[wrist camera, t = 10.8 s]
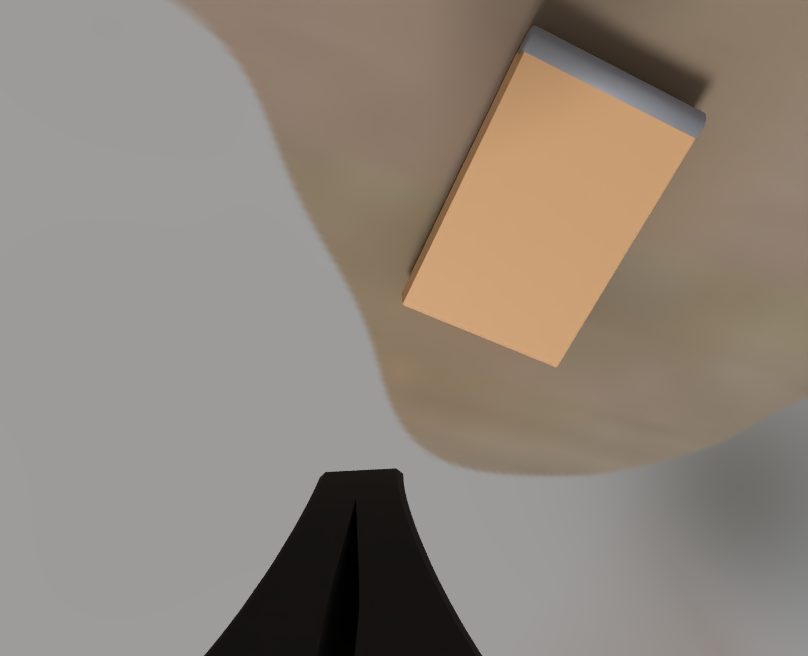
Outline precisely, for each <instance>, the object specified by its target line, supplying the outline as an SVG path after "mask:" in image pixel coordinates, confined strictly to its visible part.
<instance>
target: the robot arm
mask: <svg viewBox="0 0 808 656" xmlns="http://www.w3.org/2000/svg"><path fill="white" fill-rule="evenodd" d="M204 656H482V655H481V653H480V652H479V650H478V649H477V647H476V646H475V644H474V642H473V641H472V639H471V637H470V636H469V634H468V632H467V631H466V629H465V627H464V626H463V624H462V623H461V621H460V619H459V617H458V615H457V614H456V612H455V610H454V608H453V606H452V605H451V603H450V601H449V599H448V597H447V595H446V593H445V591H444V589H443V587H442V585H441V584H440V582H439V580H438V577H437V576H436V573H435V571H434V569H433V567H432V565H431V563H430V560H429V558H428V556H427V553H426V551H425V549H424V547H423V544H422V542H421V539H420V537H419V534H418V532H417V529H416V527H415V524H414V521H413V518H412V515H411V512H410V509H409V506H408V502H407V498H406V494H405V489H404V481H403V473H401V472H400V471H399V470H397V469H377V470H359V471H339V472H325V473H324V474H323V475H322V476H321V477H320V479H319V481H318V483H317V485H316V487H315V490H314V492H313V494H312V496H311V498H310V500H309V502H308V504H307V506H306V508H305V509H304V511H303V513H302V515H301V517H300V518H299V520H298V522H297V524H296V526H295V527H294V529H293V531H292V532H291V534H290V536H289V537H288V539H287V541H286V542H285V544H284V546H283V547H282V549H281V551H280V552H279V554H278V555H277V557H276V559H275V560H274V562H273V563H272V565H271V567H270V568H269V570H268V571H267V573H266V574H265V576H264V577H263V578H262V580H261V581H260V583H259V584H258V586H257V587H256V588H255V590H254V591H253V593H252V594H251V596H250V597H249V599H248V600H247V601H246V603H245V604H244V606H243V607H242V609H241V610H240V611H239V613H238V614H237V615H236V617H235V618H234V619H233V620H232V622H231V623H230V624H229V626H228V627H227V628H226V630H225V631H224V632H223V634H222V635H221V636H220V637H219V638H218V640H217V641H216V642H215V643H214V645H213V646H212V647H211V648H210V650H209V651H208V652H207V653H206V654H205V655H204Z"/></svg>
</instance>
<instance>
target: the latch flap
mask: <svg viewBox="0 0 808 656" xmlns="http://www.w3.org/2000/svg"><path fill="white" fill-rule="evenodd" d="M705 121H706V114H705V113H704V112H702V111H700V110H698V109H696V108H694V107H692V106H690V105H688V104H686V103H684V102H682V101H680V100H679V99H677V98H675V97H673V96H671V95H669V94H667V93H665V92H663V91H661V90H659V89H657V88H655V87H653V86H652V85H650V84H648V83H646V82H644V81H642V80H640V79H638V78H636V77H634V76H632V75H630V74H628V73H626V72H624V71H623V70H621V69H619V68H617V67H615V66H613V65H611V64H609V63H607V62H605V61H603V60H601V59H599V58H597V57H596V56H594V55H592V54H590V53H588V52H586V51H584V50H582V49H580V48H578V47H576V46H574V45H572V44H570V43H568V42H567V41H565V40H563V39H561V38H559V37H557V36H555V35H553V34H551V33H549V32H547V31H545V30H543V29H541V28H540V27H538V26H536V25H533V26H532V27H531V28H530V29H529V31H528V32H527V34H526V36H525V37H524V39H523V41H522V43H521V46H520V48H519V50H518V51H517V53H516V55H515V57H514V59H513V61H512V63H511V66H510V68H509V70H508V72H507V74H506V76H505V78H504V80H503V82H502V84H501V86H500V89H499V91H498V93H497V95H496V97H495V99H494V101H493V103H492V105H491V107H490V109H489V112H488V114H487V116H486V118H485V120H484V122H483V124H482V126H481V128H480V130H479V132H478V135H477V137H476V139H475V141H474V143H473V145H472V147H471V149H470V151H469V153H468V155H467V158H466V160H465V162H464V164H463V166H462V168H461V170H460V172H459V174H458V176H457V178H456V181H455V183H454V185H453V187H452V189H451V191H450V193H449V195H448V197H447V199H446V201H445V204H444V206H443V208H442V210H441V212H440V214H439V216H438V218H437V220H436V222H435V224H434V227H433V229H432V231H431V233H430V235H429V237H428V239H427V241H426V243H425V245H424V247H423V250H422V252H421V254H420V256H419V258H418V260H417V262H416V264H415V266H414V268H413V270H412V273H411V275H410V277H409V279H408V281H407V283H406V285H405V287H404V289H403V291H402V305H404V306H407V307H409V308H412V309H414V310H417V311H419V312H421V313H424V314H426V315H429V316H431V317H434V318H436V319H439V320H441V321H444V322H446V323H449V324H451V325H453V326H456V327H458V328H461V329H463V330H466V331H468V332H471V333H473V334H476V335H478V336H480V337H483V338H485V339H488V340H490V341H493V342H495V343H498V344H500V345H503V346H505V347H508V348H510V349H512V350H515V351H517V352H520V353H522V354H525V355H527V356H530V357H532V358H535V359H537V360H540V361H542V362H544V363H547V364H549V365H552V366H554V367H557V366H558V364H559V363H560V361H561V359H562V358H563V356H564V355H565V353H566V351H567V350H568V348H569V346H570V345H571V343H572V341H573V340H574V338H575V336H576V335H577V333H578V331H579V330H580V328H581V326H582V325H583V323H584V322H585V320H586V318H587V317H588V315H589V313H590V312H591V310H592V308H593V307H594V305H595V303H596V302H597V300H598V298H599V297H600V295H601V294H602V292H603V290H604V289H605V287H606V285H607V284H608V282H609V280H610V279H611V277H612V275H613V274H614V272H615V270H616V269H617V267H618V265H619V264H620V262H621V261H622V259H623V257H624V256H625V254H626V252H627V251H628V249H629V247H630V246H631V244H632V242H633V241H634V239H635V237H636V236H637V234H638V233H639V231H640V229H641V228H642V226H643V224H644V223H645V221H646V219H647V218H648V216H649V214H650V213H651V211H652V209H653V208H654V206H655V204H656V203H657V201H658V200H659V198H660V196H661V195H662V193H663V191H664V190H665V188H666V186H667V185H668V183H669V181H670V180H671V178H672V176H673V175H674V173H675V171H676V170H677V168H678V167H679V165H680V163H681V162H682V160H683V158H684V157H685V155H686V153H687V152H688V150H689V148H690V147H691V145H692V143H693V142H694V140H695V139H696V137H697V136H698V135H699V133H700V132H701V130H702V128H703V126H704V124H705Z"/></svg>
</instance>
